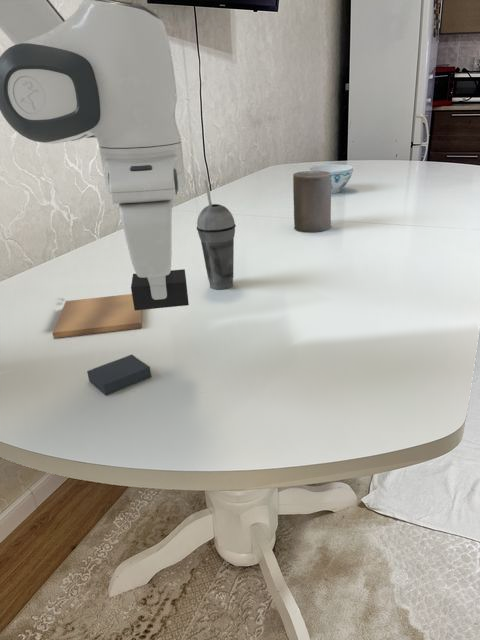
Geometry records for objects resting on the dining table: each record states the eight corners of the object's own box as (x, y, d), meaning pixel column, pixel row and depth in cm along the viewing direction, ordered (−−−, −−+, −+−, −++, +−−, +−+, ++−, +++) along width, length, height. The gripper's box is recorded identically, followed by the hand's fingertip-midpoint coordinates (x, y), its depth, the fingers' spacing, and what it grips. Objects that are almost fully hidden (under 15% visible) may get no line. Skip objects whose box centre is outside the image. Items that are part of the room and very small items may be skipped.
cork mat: (53, 338, 85) (52, 332, 84) (66, 306, 97) (65, 300, 96) (141, 328, 86) (140, 322, 86) (143, 297, 99) (142, 292, 98)
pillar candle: (290, 232, 135) (288, 171, 128) (298, 222, 143) (297, 165, 136) (327, 233, 132) (327, 171, 125) (334, 223, 140) (335, 164, 134)
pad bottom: (134, 310, 63) (130, 287, 62) (136, 295, 67) (132, 273, 66) (188, 305, 64) (186, 282, 62) (187, 291, 68) (184, 269, 67)
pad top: (107, 405, 66) (103, 385, 65) (91, 390, 69) (86, 370, 68) (153, 386, 70) (149, 366, 68) (135, 373, 73) (131, 354, 72)
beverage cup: (245, 287, 101) (237, 180, 91) (208, 294, 98) (197, 184, 89) (233, 276, 107) (224, 174, 97) (198, 282, 104) (186, 178, 95)
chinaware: (329, 185, 188) (329, 163, 185) (361, 190, 178) (362, 166, 174) (299, 192, 180) (298, 169, 176) (331, 198, 169) (331, 173, 166)
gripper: (121, 160, 67) (137, 264, 73) (107, 189, 49) (129, 323, 56) (171, 158, 68) (182, 260, 74) (174, 185, 50) (189, 317, 56)
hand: (160, 288), depth 65 cm, fingers closed on pad bottom, 5 cm apart
